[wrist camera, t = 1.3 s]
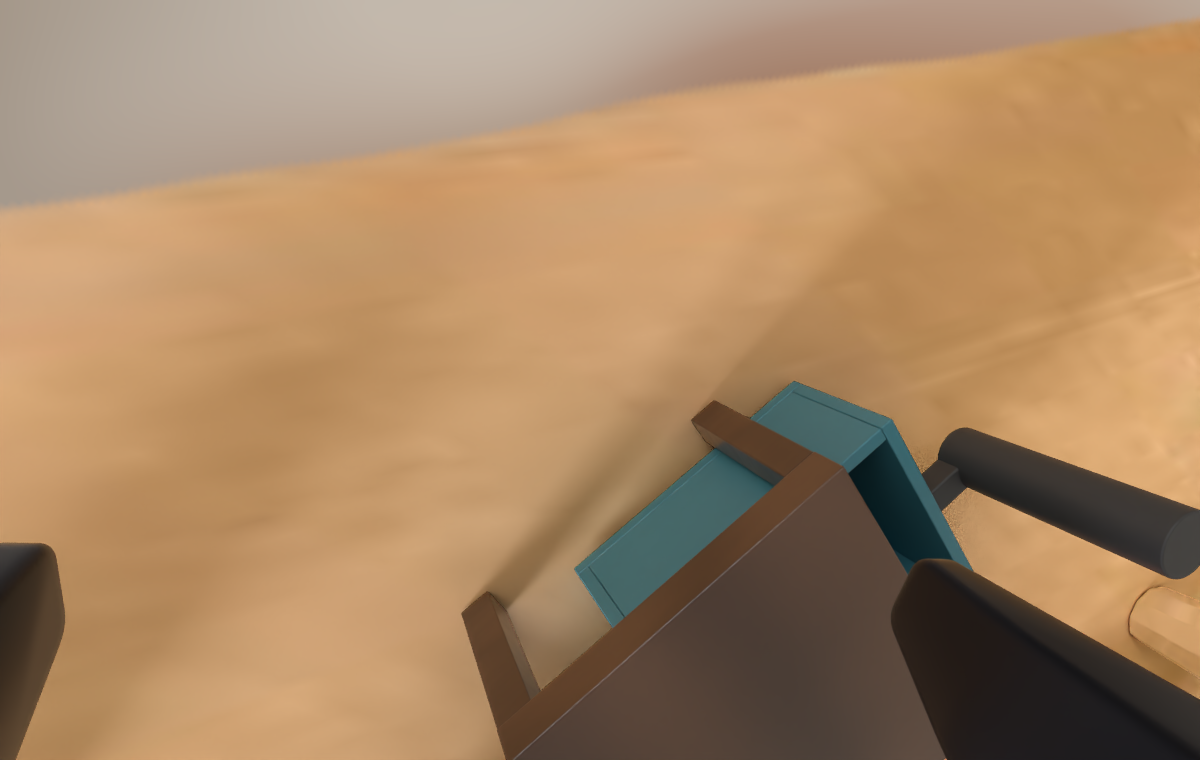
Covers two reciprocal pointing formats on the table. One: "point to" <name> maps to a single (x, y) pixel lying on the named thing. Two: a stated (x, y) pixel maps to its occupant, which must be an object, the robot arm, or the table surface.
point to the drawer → (889, 500)
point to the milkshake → (1169, 626)
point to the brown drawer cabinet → (734, 638)
